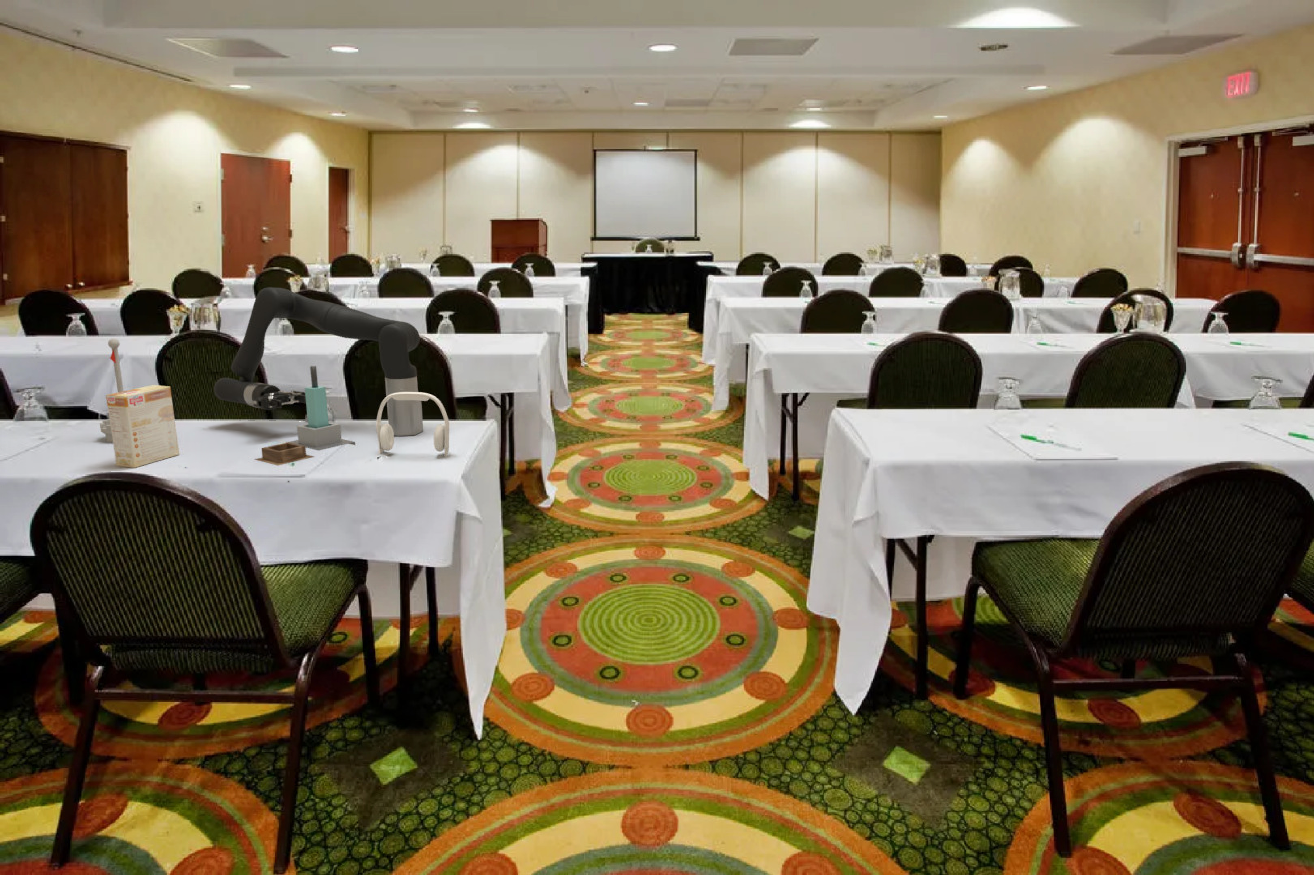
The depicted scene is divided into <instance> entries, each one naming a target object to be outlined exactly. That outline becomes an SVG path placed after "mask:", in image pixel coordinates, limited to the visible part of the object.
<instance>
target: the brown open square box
mask: <svg viewBox="0 0 1314 875" xmlns="http://www.w3.org/2000/svg"><path fill="white" fill-rule="evenodd" d="M289 442H290V441H287V443H286V442H283V443H279V444H275V445H270V446H264V447H261V455H262V456H261V457H259V458H255V459H254V461H255V460H256V461H258V462H259V461H260V462H263V463H265V464H271V465H274V466H282V465H285V464H286V465H287V464H290V463H295V462H298V461H299V462H300V461H303V460H306V459H311V458H314V457H315V456H313V455H309V454H307V448H306V447H305V446H302V445H298V444H294V443H289Z"/></svg>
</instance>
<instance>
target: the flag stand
mask: <svg viewBox="0 0 1314 875" xmlns="http://www.w3.org/2000/svg"><path fill="white" fill-rule="evenodd" d="M120 344H121V343H120V340H118V339H117V338H110V339H109V340H108V342H107V345H108V347H109V348H111V352H112V353H111V354H110V355H111V356H109V359H110V360H111V361H112V362H113V367H114V373H115V374H114V376H115V382H116V388H117V393H118V392H123V391H124V385H123V378H122V370H121V364H120V356H119V349H118V348H119V347H120ZM99 427H100V428H99V429H100V432H101V433H102V434H104V435H105V440H106V442H108V443H113V438H112V432H111V425H110V419H105V420H103V421H102V422H100V423H99Z"/></svg>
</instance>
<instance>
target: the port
mask: <svg viewBox="0 0 1314 875" xmlns="http://www.w3.org/2000/svg"><path fill="white" fill-rule="evenodd" d="M296 429H297V430H296V431H297V439H296V440H295V439H294V440H291V441H287V442H289V443H294V444H298V445H302V446H305V448H306V449H311V450H314V451H322V450H323V451H324V450H327V449H332V448H336V447H339V446H340V447H341V446H343V445H344V446H345V445H348V444H349V445H352V446H353V445H354V446H356V441H354V440H353V441H352V440H347V439H343V438H342V431H341V430H342V429H341V424H340V423H335V422H330V421H329V426H325V427H321V428H316V429H315V428H311V427H308V423H306V424H301V425H297V426H296ZM287 442H285V443H287Z"/></svg>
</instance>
